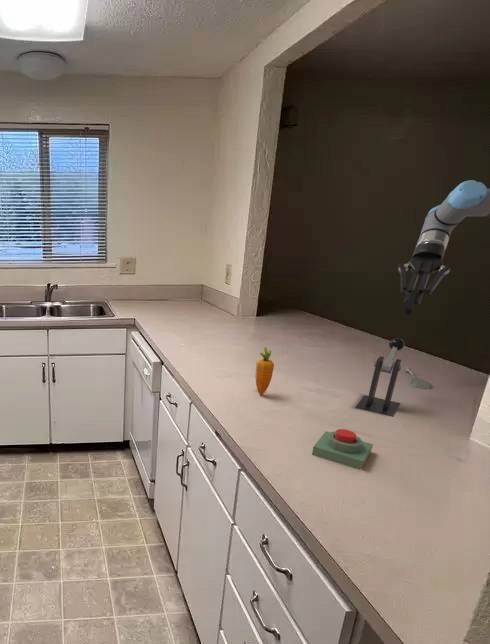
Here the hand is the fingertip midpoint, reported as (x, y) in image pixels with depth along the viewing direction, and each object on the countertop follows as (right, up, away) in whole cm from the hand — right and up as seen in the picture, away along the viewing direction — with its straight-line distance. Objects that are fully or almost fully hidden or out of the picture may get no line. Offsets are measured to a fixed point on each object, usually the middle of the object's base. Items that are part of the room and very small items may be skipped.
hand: (408, 311), depth 128 cm
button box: (-36, -37, -28) cm, 59 cm away
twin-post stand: (-13, -29, -5) cm, 32 cm away
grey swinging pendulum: (-9, -14, -6) cm, 18 cm away
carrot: (-41, -25, +6) cm, 49 cm away
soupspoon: (+13, -21, +15) cm, 29 cm away
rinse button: (-36, -34, -29) cm, 58 cm away
